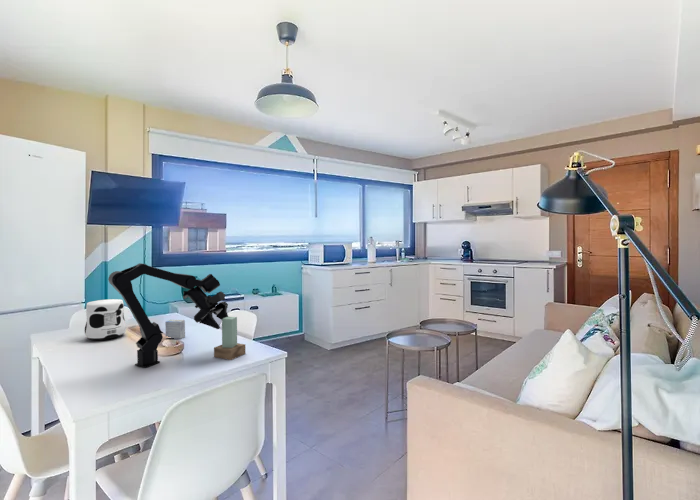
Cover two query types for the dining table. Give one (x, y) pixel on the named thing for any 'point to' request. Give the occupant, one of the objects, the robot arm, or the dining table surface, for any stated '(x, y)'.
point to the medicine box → (175, 328)
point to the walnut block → (229, 351)
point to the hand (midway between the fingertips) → (224, 325)
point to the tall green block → (229, 332)
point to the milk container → (105, 319)
